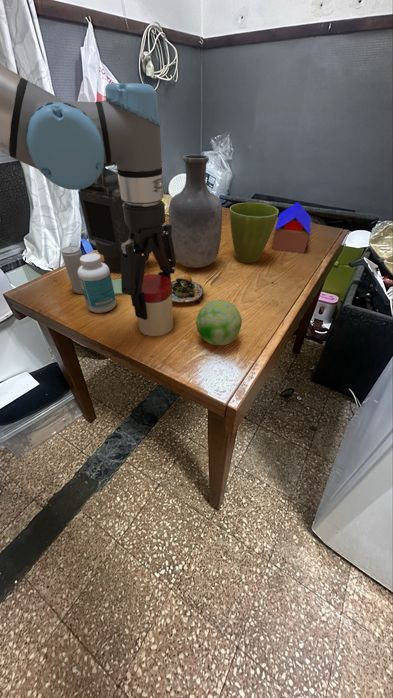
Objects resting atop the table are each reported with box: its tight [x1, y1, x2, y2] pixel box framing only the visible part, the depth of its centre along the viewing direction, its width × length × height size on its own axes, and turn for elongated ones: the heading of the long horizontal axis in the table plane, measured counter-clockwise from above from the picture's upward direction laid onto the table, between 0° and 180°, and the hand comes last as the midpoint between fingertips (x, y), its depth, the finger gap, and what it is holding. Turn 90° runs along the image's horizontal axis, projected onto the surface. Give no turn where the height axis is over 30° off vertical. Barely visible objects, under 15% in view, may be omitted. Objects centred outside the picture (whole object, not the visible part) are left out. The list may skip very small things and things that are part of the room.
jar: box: [136, 294, 174, 337], centre depth 66 cm, size 8×8×11 cm
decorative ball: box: [195, 299, 243, 346], centre depth 62 cm, size 10×10×10 cm
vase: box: [168, 153, 223, 269], centre depth 85 cm, size 16×16×30 cm
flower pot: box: [229, 202, 280, 264], centre depth 93 cm, size 15×15×16 cm
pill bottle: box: [78, 253, 117, 314], centre depth 71 cm, size 8×7×14 cm
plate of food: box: [171, 270, 205, 304], centre depth 77 cm, size 12×12×8 cm
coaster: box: [111, 278, 126, 296], centre depth 83 cm, size 8×8×1 cm
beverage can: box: [60, 245, 84, 295], centre depth 78 cm, size 5×5×12 cm
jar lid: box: [135, 273, 173, 302], centre depth 63 cm, size 9×9×2 cm
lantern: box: [77, 163, 143, 273], centre depth 84 cm, size 15×18×30 cm
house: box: [271, 201, 312, 254], centre depth 107 cm, size 12×20×12 cm, turn 163°
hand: (154, 307), depth 66 cm, fingers closed on jar lid, 9 cm apart
